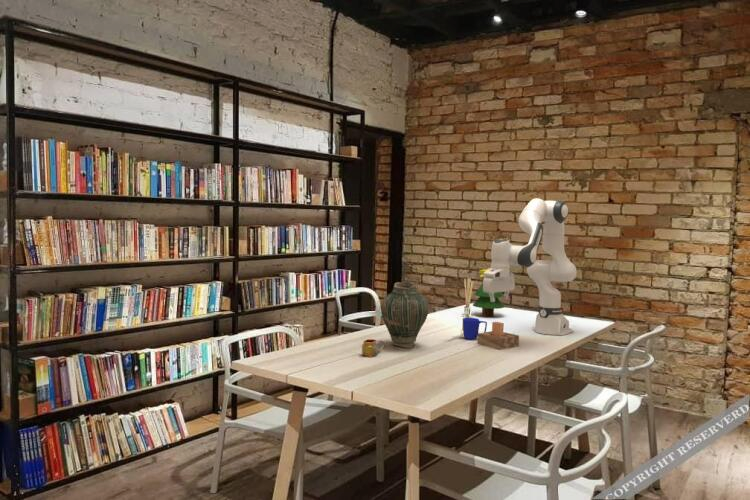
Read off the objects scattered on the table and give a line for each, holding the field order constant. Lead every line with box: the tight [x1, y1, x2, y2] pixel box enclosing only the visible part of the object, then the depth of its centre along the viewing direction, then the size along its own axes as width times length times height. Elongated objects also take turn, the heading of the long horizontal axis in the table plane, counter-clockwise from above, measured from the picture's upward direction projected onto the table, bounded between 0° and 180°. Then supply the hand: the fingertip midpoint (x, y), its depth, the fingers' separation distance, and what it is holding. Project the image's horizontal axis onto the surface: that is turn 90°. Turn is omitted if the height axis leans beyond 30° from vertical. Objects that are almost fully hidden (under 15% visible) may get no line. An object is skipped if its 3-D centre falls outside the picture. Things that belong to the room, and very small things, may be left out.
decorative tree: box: [472, 267, 505, 318], centre depth 350 cm, size 19×19×30 cm
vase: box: [380, 281, 430, 349], centre depth 266 cm, size 22×22×30 cm
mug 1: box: [361, 338, 385, 358], centre depth 249 cm, size 12×7×7 cm, turn 131°
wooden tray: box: [476, 330, 520, 351], centre depth 274 cm, size 14×14×5 cm
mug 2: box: [462, 317, 488, 341], centre depth 285 cm, size 8×12×10 cm
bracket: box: [491, 321, 506, 337], centre depth 273 cm, size 4×4×11 cm
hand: (498, 300), depth 272 cm, fingers open, 8 cm apart
